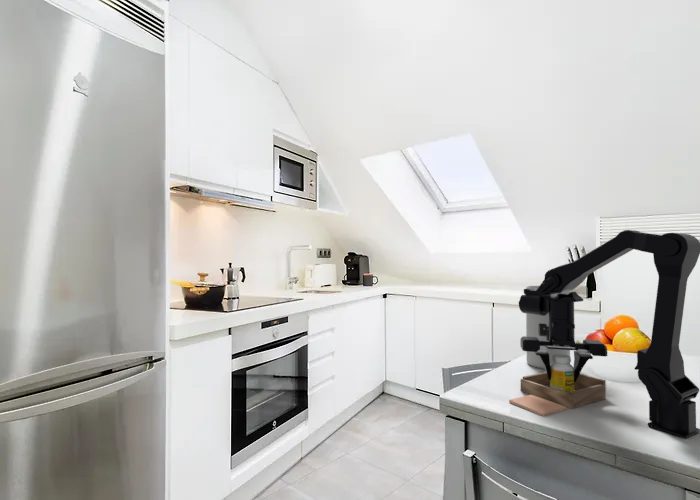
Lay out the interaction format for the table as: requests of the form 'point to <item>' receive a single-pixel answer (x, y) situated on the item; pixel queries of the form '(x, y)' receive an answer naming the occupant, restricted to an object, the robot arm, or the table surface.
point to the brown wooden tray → (584, 392)
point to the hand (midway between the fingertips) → (561, 380)
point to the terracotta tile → (537, 405)
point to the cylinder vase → (532, 331)
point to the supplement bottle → (562, 373)
